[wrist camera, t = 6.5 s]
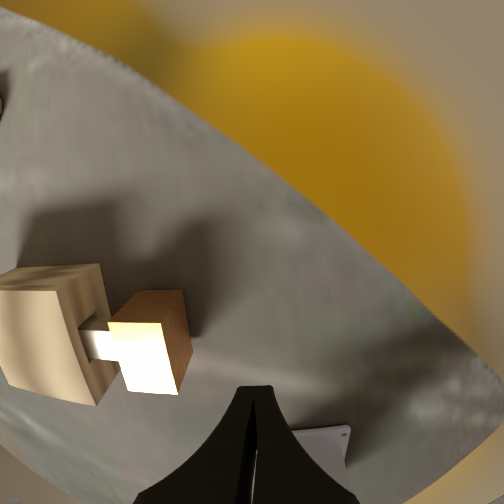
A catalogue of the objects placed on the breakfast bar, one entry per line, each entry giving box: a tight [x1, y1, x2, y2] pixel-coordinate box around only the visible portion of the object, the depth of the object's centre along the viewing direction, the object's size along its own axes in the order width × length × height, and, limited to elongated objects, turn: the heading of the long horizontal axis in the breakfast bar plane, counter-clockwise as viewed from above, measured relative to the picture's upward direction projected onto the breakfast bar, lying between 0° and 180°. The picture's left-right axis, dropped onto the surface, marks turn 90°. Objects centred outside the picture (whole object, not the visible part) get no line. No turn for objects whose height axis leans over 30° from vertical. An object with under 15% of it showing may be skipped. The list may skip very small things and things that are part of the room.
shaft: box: [77, 290, 193, 394], centre depth 17 cm, size 16×4×4 cm, turn 94°
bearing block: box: [0, 263, 121, 406], centre depth 18 cm, size 9×8×5 cm
